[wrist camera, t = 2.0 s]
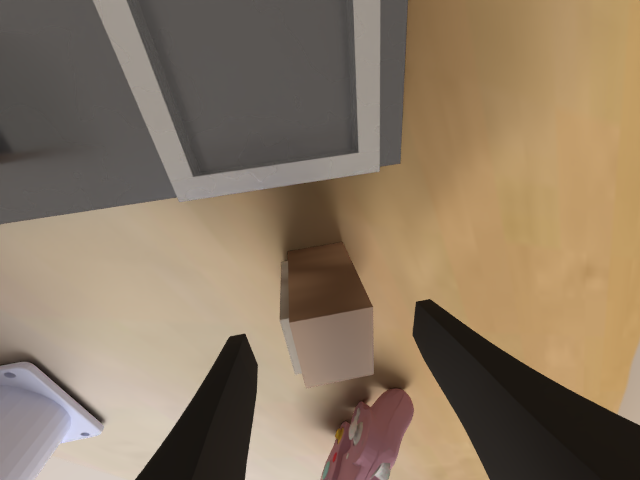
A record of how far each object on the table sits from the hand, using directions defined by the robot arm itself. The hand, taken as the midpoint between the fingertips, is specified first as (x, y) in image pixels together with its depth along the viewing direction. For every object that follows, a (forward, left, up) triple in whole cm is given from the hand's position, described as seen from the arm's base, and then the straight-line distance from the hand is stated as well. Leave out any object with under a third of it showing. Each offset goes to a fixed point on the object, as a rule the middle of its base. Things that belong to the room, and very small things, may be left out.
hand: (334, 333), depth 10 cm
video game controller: (+1, -16, -4) cm, 17 cm away
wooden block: (0, 0, -4) cm, 4 cm away
